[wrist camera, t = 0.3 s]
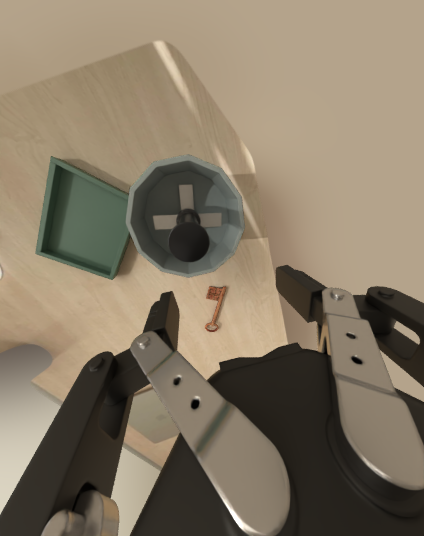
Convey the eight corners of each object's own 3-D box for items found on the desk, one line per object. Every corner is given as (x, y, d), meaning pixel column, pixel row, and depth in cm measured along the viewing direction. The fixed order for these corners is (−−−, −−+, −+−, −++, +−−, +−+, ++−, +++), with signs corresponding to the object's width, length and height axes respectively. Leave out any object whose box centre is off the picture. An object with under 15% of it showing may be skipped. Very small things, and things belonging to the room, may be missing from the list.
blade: (151, 185, 21) (95, 164, 8) (217, 184, 22) (259, 164, 9) (162, 250, 24) (134, 305, 12) (218, 246, 26) (248, 293, 13)
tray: (60, 159, 26) (50, 155, 24) (143, 201, 30) (140, 201, 28) (44, 250, 31) (34, 253, 29) (116, 275, 35) (112, 280, 33)
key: (210, 283, 40) (197, 328, 45) (210, 285, 39) (197, 330, 44) (231, 287, 41) (216, 331, 46) (232, 289, 40) (217, 333, 45)
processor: (162, 165, 28) (136, 131, 14) (228, 191, 31) (261, 185, 17) (149, 234, 33) (120, 262, 18) (208, 250, 36) (222, 285, 22)
